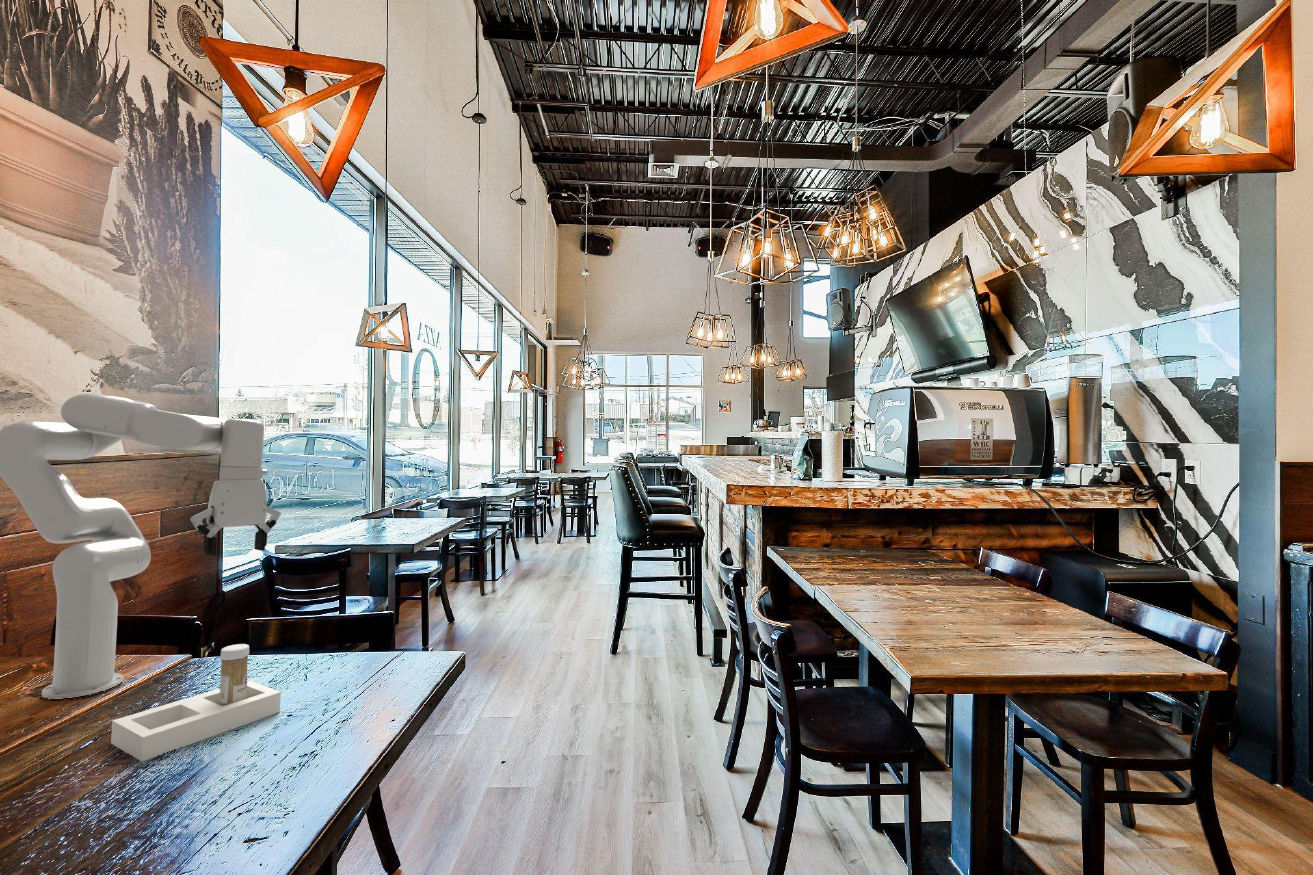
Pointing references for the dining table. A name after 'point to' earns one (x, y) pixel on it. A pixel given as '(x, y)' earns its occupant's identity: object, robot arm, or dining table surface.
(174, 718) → the condiment rack
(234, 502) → the robot arm
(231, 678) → the sprinkles bottle
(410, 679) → the dining table surface
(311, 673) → the dining table surface
